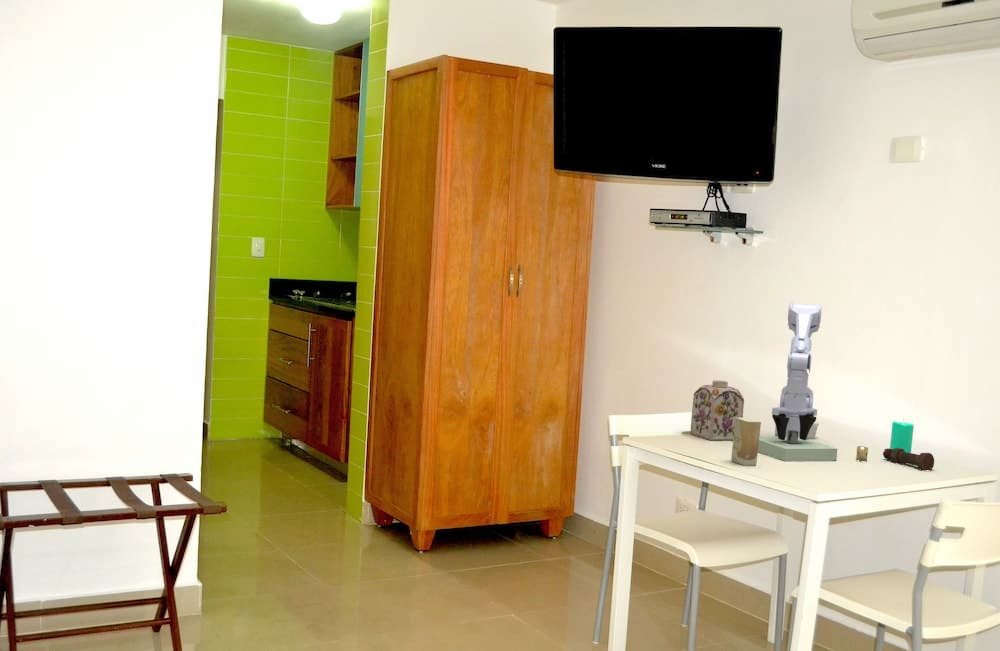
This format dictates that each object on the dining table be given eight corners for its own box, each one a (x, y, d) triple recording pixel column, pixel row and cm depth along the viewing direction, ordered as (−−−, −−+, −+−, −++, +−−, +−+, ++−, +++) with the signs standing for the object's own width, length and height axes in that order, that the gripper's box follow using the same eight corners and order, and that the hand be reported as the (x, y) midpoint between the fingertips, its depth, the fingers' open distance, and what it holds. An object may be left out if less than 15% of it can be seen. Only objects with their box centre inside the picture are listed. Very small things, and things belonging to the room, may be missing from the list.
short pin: (853, 459, 280) (854, 446, 280) (861, 459, 281) (863, 446, 281) (860, 461, 277) (862, 448, 277) (869, 461, 278) (870, 448, 278)
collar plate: (746, 448, 286) (747, 436, 286) (796, 448, 293) (797, 436, 292) (784, 461, 270) (785, 448, 269) (836, 460, 276) (837, 448, 276)
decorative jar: (741, 440, 299) (746, 383, 298) (710, 441, 294) (715, 383, 293) (719, 433, 310) (724, 378, 309) (688, 433, 306) (693, 377, 304)
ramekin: (797, 440, 309) (798, 423, 308) (774, 433, 319) (776, 417, 319) (824, 439, 313) (826, 423, 313) (801, 433, 323) (803, 417, 323)
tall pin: (783, 453, 282) (785, 429, 281) (791, 453, 283) (794, 429, 282) (790, 455, 279) (792, 431, 279) (798, 455, 280) (800, 431, 280)
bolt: (886, 465, 285) (929, 475, 271) (876, 457, 283) (918, 467, 269) (895, 448, 286) (937, 457, 272) (885, 440, 284) (927, 449, 270)
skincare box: (730, 460, 265) (734, 417, 264) (743, 460, 266) (747, 417, 265) (744, 465, 259) (748, 421, 258) (757, 465, 260) (761, 421, 259)
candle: (885, 456, 289) (889, 417, 288) (893, 454, 293) (897, 415, 293) (905, 460, 285) (909, 420, 284) (913, 458, 289) (917, 419, 288)
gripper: (784, 395, 274) (780, 442, 275) (825, 396, 279) (821, 442, 280) (769, 391, 280) (765, 437, 281) (809, 392, 285) (805, 437, 286)
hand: (792, 439), depth 281 cm, fingers open, 7 cm apart
